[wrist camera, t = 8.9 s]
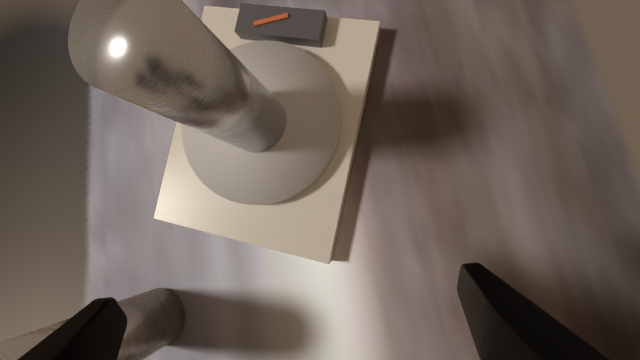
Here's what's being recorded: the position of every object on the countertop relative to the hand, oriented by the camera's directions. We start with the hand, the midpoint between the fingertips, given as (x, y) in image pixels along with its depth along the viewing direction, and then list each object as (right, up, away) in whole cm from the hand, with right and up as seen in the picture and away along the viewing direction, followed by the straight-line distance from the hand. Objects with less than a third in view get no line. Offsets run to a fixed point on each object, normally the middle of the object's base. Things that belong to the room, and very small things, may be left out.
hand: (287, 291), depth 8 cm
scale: (-3, +7, +15) cm, 16 cm away
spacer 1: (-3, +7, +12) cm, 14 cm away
